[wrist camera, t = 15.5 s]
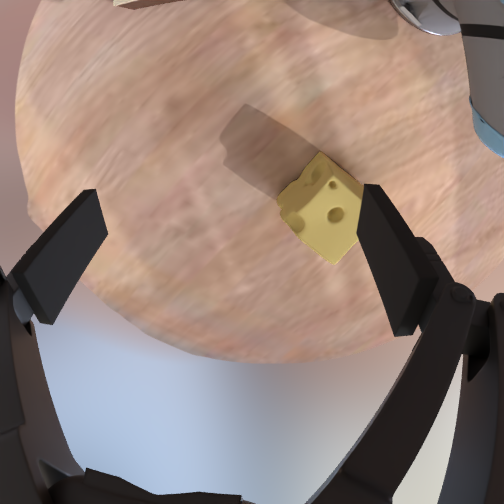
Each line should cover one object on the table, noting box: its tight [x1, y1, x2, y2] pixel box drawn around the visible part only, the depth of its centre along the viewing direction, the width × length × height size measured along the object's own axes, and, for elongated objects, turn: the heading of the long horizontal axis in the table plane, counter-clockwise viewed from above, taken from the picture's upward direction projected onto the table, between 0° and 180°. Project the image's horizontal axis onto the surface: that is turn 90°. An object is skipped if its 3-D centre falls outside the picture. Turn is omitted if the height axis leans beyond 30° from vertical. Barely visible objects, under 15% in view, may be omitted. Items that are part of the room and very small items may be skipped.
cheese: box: [277, 151, 364, 265], centre depth 44 cm, size 10×11×10 cm
